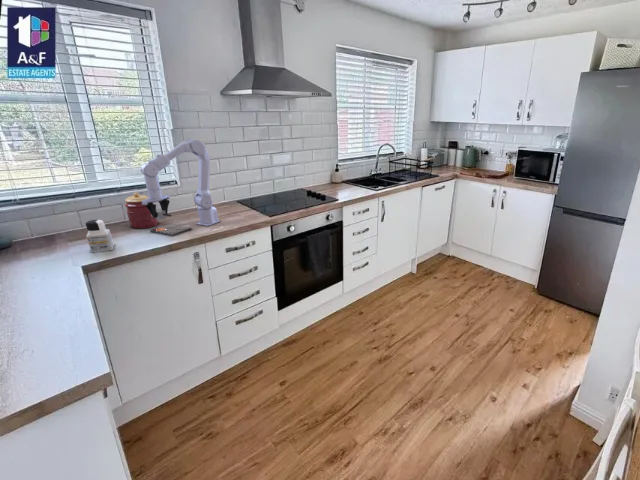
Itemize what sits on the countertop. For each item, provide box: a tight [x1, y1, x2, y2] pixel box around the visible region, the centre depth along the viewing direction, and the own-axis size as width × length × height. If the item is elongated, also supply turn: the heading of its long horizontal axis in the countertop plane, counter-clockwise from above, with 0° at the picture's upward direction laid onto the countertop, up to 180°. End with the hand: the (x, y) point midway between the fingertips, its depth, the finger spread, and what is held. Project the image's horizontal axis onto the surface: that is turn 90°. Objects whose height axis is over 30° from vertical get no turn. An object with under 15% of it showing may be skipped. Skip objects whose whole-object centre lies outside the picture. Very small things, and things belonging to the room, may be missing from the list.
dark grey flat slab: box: [150, 223, 192, 237], centre depth 193 cm, size 12×15×1 cm
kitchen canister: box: [124, 191, 159, 229], centre depth 196 cm, size 13×13×18 cm
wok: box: [156, 208, 172, 220], centre depth 187 cm, size 6×10×4 cm, turn 70°
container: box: [85, 219, 115, 253], centre depth 165 cm, size 8×8×13 cm
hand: (160, 215), depth 188 cm, fingers closed on wok, 5 cm apart
